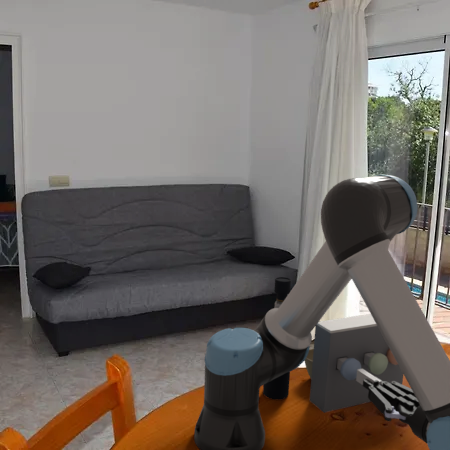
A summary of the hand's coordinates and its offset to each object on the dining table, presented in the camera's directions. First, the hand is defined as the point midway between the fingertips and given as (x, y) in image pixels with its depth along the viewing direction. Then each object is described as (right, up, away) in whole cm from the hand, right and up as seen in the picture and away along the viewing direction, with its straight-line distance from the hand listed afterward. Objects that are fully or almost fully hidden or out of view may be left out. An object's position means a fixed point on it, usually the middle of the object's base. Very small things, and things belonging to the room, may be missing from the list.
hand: (359, 374), depth 129 cm
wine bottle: (-18, -9, +14) cm, 24 cm away
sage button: (+5, -1, +8) cm, 9 cm away
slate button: (-2, -2, +4) cm, 5 cm away
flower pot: (-5, -8, +22) cm, 24 cm away
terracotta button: (+11, 0, +14) cm, 18 cm away
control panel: (+3, -10, +14) cm, 17 cm away
